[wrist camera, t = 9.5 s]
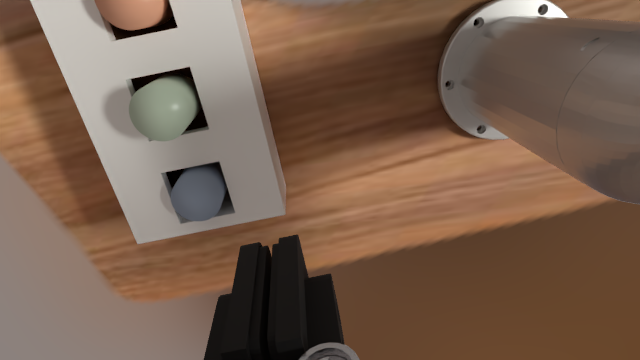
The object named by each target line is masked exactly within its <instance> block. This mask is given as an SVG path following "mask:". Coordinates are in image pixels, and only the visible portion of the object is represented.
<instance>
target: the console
mask: <svg viewBox="0 0 640 360" xmlns="http://www.w3.org/2000/svg"><path fill="white" fill-rule="evenodd" d="M30 1H31V3H32V6H33V8H34V10H35V13H36V15H37V17H38V19H39V22H40V24H41V26H42V28H43V31H44V33H45V35H46V38H47V40H48V42H49V44H50V47H51V49H52V51H53V53H54V56H55V58H56V60H57V62H58V65H59V67H60V69H61V72H62V74H63V76H64V78H65V81H66V83H67V85H68V87H69V90H70V92H71V94H72V96H73V99H74V101H75V103H76V106H77V108H78V110H79V112H80V115H81V117H82V119H83V121H84V124H85V126H86V128H87V130H88V133H89V135H90V137H91V140H92V142H93V144H94V146H95V149H96V151H97V153H98V155H99V158H100V160H101V162H102V164H103V167H104V169H105V171H106V174H107V176H108V178H109V180H110V183H111V185H112V187H113V189H114V192H115V194H116V196H117V198H118V201H119V203H120V205H121V208H122V210H123V212H124V214H125V217H126V219H127V221H128V223H129V226H130V228H131V230H132V233H133V235H134V237H135V239H136V242H137V244H142V243H147V242H152V241H157V240H162V239H167V238H172V237H177V236H182V235H187V234H192V233H197V232H202V231H207V230H212V229H217V228H221V227H226V226H231V225H236V224H241V223H246V222H251V221H256V220H261V219H266V218H271V217H276V216H281V215H286V184H285V180H284V176H283V172H282V168H281V164H280V160H279V156H278V151H277V147H276V143H275V139H274V135H273V131H272V127H271V123H270V119H269V115H268V111H267V107H266V102H265V98H264V94H263V90H262V86H261V82H260V78H259V74H258V70H257V66H256V62H255V58H254V54H253V49H252V45H251V41H250V37H249V33H248V29H247V25H246V21H245V17H244V13H243V9H242V5H241V1H240V0H169V1H170V5H171V8H172V11H173V14H174V17H175V21H176V24H177V27H178V28H174V29H169V30H164V31H159V32H154V33H149V34H144V35H140V36H135V37H130V38H125V39H120V40H116V39H115V36H114V33H113V31H112V28H111V25H110V23H109V22H108V21H107V20H106V19H105V18H104V17H103V16H102V14H101V13H100V12H99V10H98V8H97V6H96V4H95V1H94V0H30ZM186 67H190V69H191V72H192V75H193V78H194V82H195V85H196V88H197V91H198V94H199V98H200V101H201V104H202V107H203V111H204V114H205V117H206V120H207V123H208V127H203V128H198V129H193V130H188V131H184V132H183V133H182V134H181V135H180V136H179V137H177V138H175V139H173V140H170V141H156V140H152V139H149V138H147V137H146V136H144V135H142V134H141V133H140V132H139V131H138V130H137V129H136V128H135V126H134V125H133V123H132V121H131V119H130V115H129V104H130V100H131V98H132V96H133V95H134V94H135V89H134V87H133V84H132V81H131V79H132V78H137V77H142V76H147V75H152V74H157V73H162V72H167V71H172V70H176V69H181V68H186ZM218 161H219V162H220V165H221V168H222V172H223V175H224V178H225V181H226V184H227V190H226V193H225V196H224V199H223V202H222V205H221V208H220V210H219V212H218V213H217V214H216V215H215V216H214V217H212V218H211V219H208V220H205V221H191V220H188V219H186V218H184V217H182V216H181V215H179V214H178V213H177V212H176V210H175V209H174V208H173V206H172V203H171V191H172V188H171V185H170V183H169V180H168V177H167V175H166V172H169V171H174V170H179V169H184V168H189V167H193V166H198V165H203V164H208V163H213V162H218Z"/></svg>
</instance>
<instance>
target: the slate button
mask: <svg viewBox="0 0 640 360" xmlns="http://www.w3.org/2000/svg"><path fill="white" fill-rule="evenodd" d="M226 190H227V184H226V181H225V178H224V175H223V172H222V168H221V165H220V162H219V161H218V162H213V163H208V164H203V165H198V166H193V167H189V168H185V169H184V171H183V172H182V174H181V176H180V177H179V179H178V180H177V182H176V184H175V185H174V187H173V189H172V191H171V203H172V206H173V208H174V209H175V210H176V212H177V213H178V214H179V215H181V216H182V217H184V218H186V219H188V220H191V221H205V220H208V219H211V218H212V217H214V216H215V215H216V214H217V213H218V212H219V210H220V208H221V205H222V202H223V199H224V196H225V193H226Z"/></svg>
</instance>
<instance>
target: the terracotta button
mask: <svg viewBox="0 0 640 360" xmlns="http://www.w3.org/2000/svg"><path fill="white" fill-rule="evenodd" d="M94 1H95V4H96V6H97V8H98V10H99V12H100V13H101V14H102V16H103V17H104V18H105V19H106V20H107V21H108V22H110V23H111V24H112V25H114V26H116V27H118V28H121V29H124V30H138V29H143V28H148V27H154V26H159V25H162V24H164V23H166V22H167V21H169V20H170V19H171V17H172V16H173V11H172V8H171V5H170V1H169V0H94Z"/></svg>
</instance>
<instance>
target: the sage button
mask: <svg viewBox="0 0 640 360" xmlns="http://www.w3.org/2000/svg"><path fill="white" fill-rule="evenodd" d="M201 107H202V104H201V101H200V98H199V94H198V91H197V88H196V85H195V82H194V81H193V80H192V79H190V78H189V77H187V76H185V75H183V74H179V73H168V74H165V75H163V76H161V77H159V78H157V79H156V80H154V81H152V82H151V83H149V84H147V85H146V86H144V87H142V88H141V89H139V90H138V91H136V92H135V94H134V95H133V96H132V98H131V100H130V104H129V115H130V119H131V121H132V123H133V125H134V126H135V128H136V129H137V130H138V131H139V132H140V133H141V134H142V135H144V136H146V137H147V138H149V139H152V140H156V141H170V140H173V139H175V138H177V137H179V136H180V135H181V134H182V133H183V132H184V131H185V129H186V128H187V127H188V126H189V124H190V123H191V122H192V121H193V119H194V118H195V117H196V116H197V114H198V113H199V112H200V109H201Z"/></svg>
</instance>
